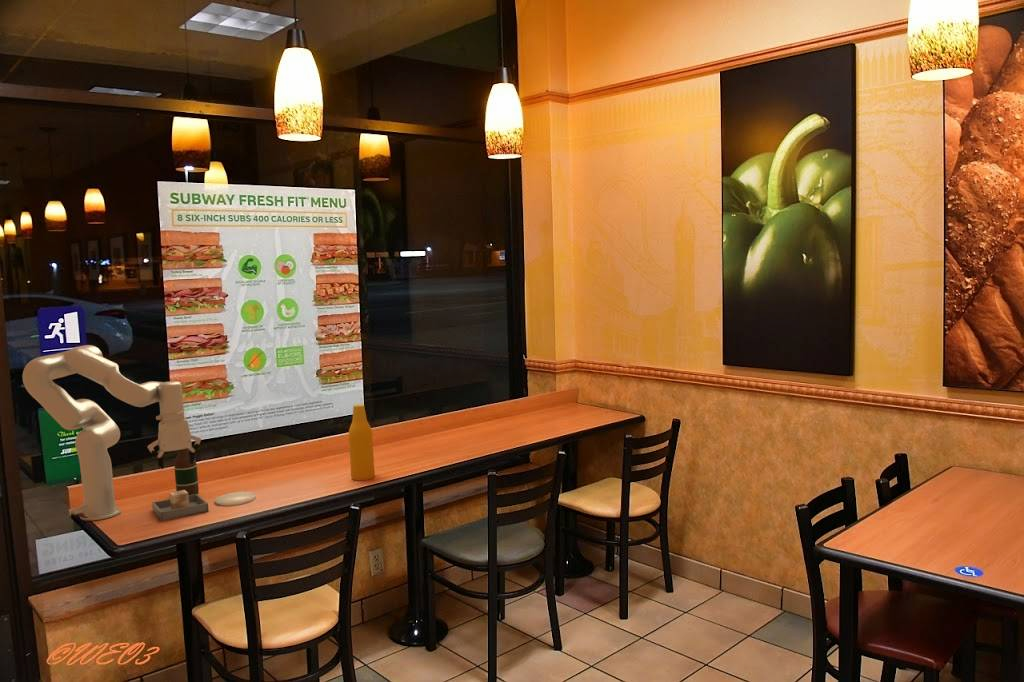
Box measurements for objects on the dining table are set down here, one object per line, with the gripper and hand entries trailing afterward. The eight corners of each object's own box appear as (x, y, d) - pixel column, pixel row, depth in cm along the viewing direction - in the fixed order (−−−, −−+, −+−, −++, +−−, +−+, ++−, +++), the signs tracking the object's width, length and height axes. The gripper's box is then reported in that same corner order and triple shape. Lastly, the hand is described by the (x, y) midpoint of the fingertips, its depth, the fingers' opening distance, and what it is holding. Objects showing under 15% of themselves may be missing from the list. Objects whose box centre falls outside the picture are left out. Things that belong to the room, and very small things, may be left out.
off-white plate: (221, 508, 272) (220, 505, 272) (210, 499, 283) (210, 496, 283) (260, 500, 280) (260, 497, 280) (249, 491, 291) (249, 489, 291)
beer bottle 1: (175, 498, 286) (170, 435, 284) (178, 493, 293) (173, 431, 291) (197, 496, 288) (192, 433, 286) (200, 490, 296) (195, 429, 293)
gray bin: (161, 521, 260) (161, 512, 260) (152, 510, 272) (151, 502, 272) (208, 511, 269) (207, 503, 268) (197, 501, 281) (197, 493, 281)
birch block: (174, 512, 267) (172, 495, 266) (171, 509, 271) (169, 492, 270) (189, 509, 270) (188, 492, 269) (186, 506, 274) (184, 489, 273)
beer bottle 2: (369, 481, 300) (365, 407, 297) (347, 480, 301) (342, 407, 299) (378, 474, 309) (374, 403, 306) (356, 474, 310) (352, 403, 308)
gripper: (147, 422, 259) (152, 472, 261) (201, 415, 269) (205, 463, 271) (143, 419, 265) (147, 468, 267) (196, 412, 275) (199, 459, 277)
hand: (176, 465), depth 269 cm, fingers open, 9 cm apart
